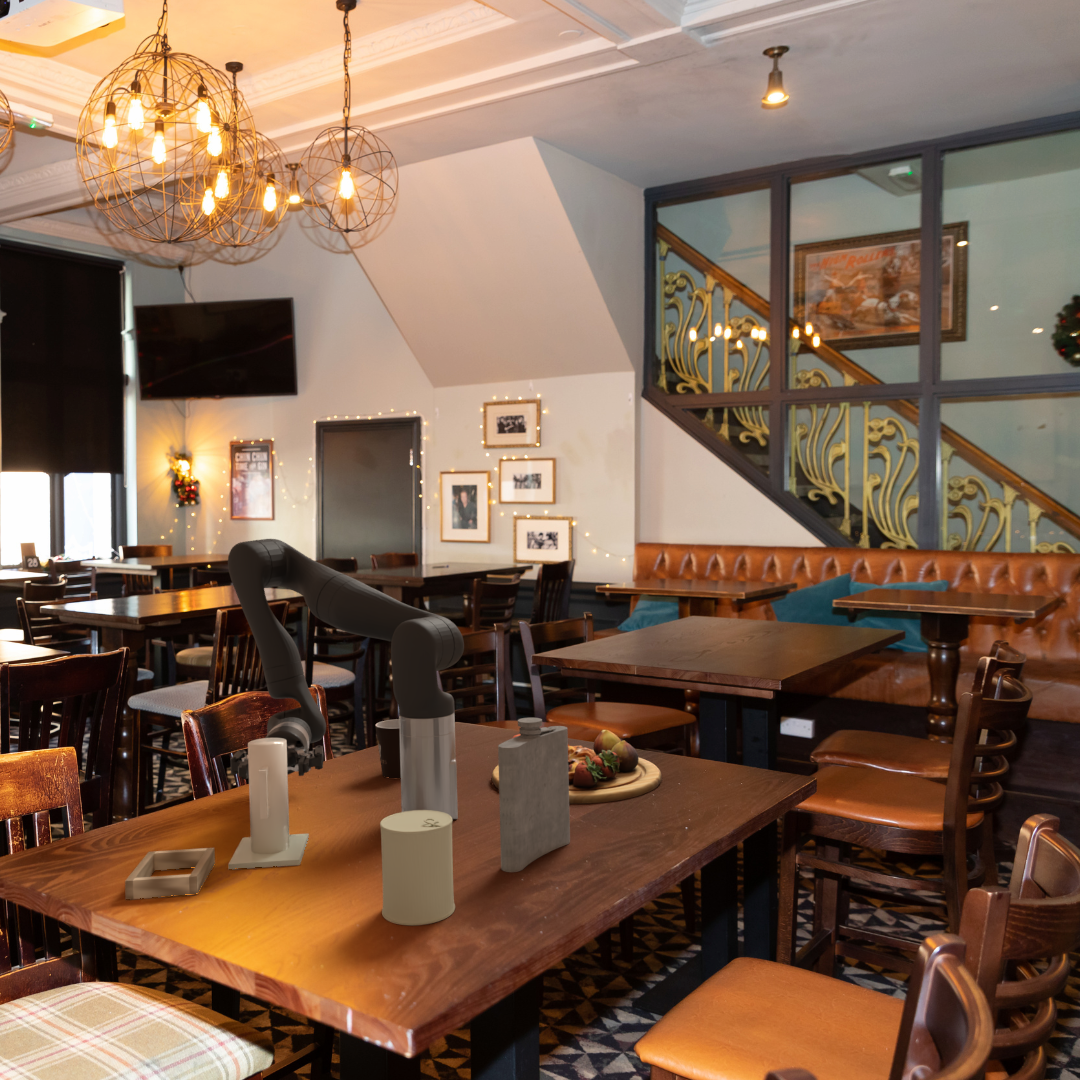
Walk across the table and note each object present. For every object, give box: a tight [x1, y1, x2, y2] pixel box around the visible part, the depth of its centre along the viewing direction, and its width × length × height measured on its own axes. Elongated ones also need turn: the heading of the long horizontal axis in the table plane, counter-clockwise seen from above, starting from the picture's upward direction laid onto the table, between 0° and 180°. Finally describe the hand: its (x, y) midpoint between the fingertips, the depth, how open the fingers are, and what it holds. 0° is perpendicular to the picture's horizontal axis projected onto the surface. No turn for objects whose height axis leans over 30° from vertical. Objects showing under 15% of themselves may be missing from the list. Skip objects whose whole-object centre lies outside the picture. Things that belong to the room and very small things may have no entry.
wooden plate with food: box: [491, 729, 662, 805], centre depth 185 cm, size 32×32×8 cm
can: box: [379, 810, 456, 926], centre depth 124 cm, size 9×9×12 cm
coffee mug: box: [375, 718, 401, 779], centre depth 193 cm, size 12×9×10 cm
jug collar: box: [124, 847, 216, 900], centre depth 136 cm, size 9×12×2 cm
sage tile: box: [227, 833, 310, 870], centre depth 147 cm, size 10×12×1 cm
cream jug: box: [247, 737, 290, 854], centre depth 146 cm, size 6×8×16 cm
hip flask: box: [497, 717, 571, 873], centre depth 144 cm, size 16×4×20 cm, turn 147°
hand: (272, 771), depth 151 cm, fingers open, 8 cm apart
